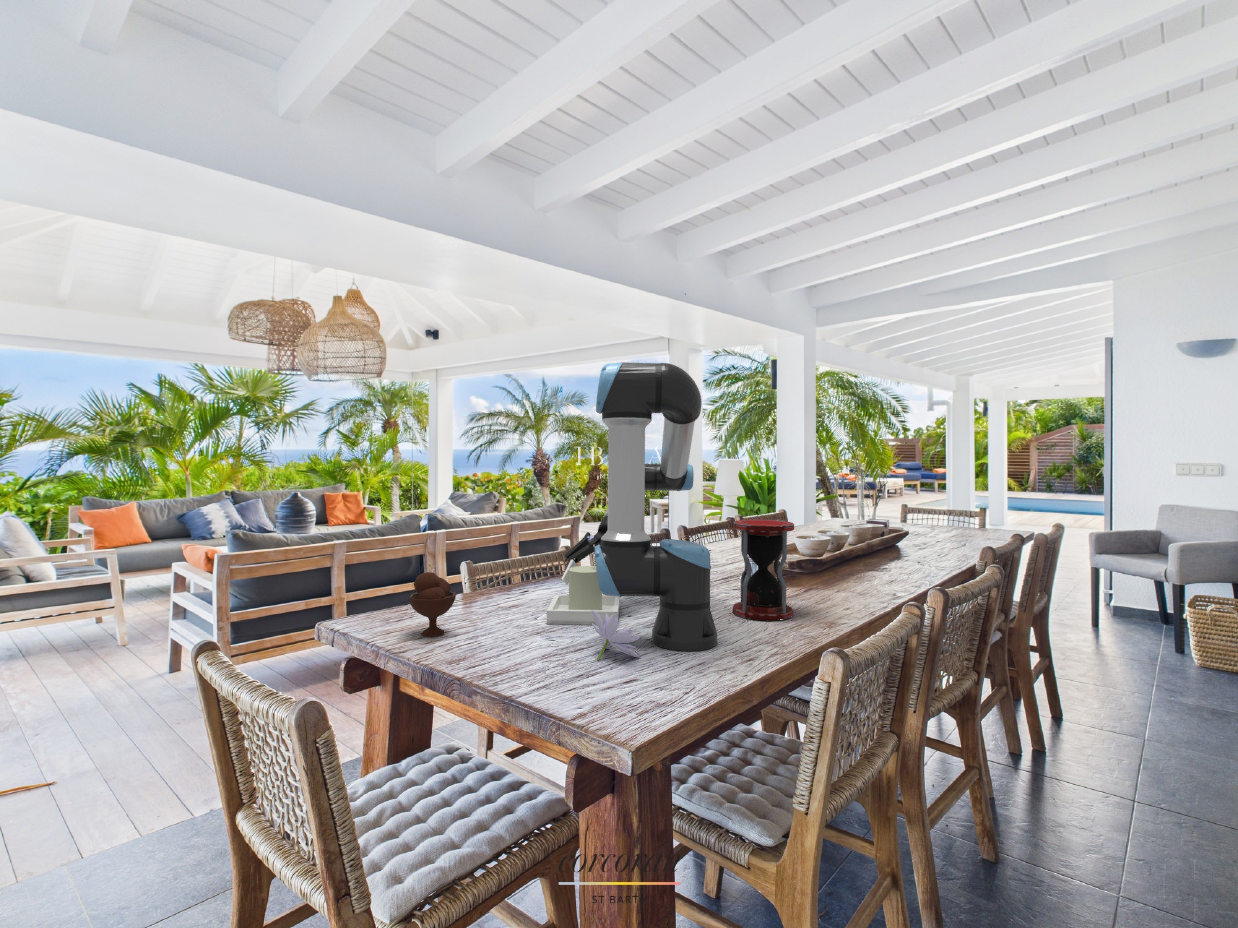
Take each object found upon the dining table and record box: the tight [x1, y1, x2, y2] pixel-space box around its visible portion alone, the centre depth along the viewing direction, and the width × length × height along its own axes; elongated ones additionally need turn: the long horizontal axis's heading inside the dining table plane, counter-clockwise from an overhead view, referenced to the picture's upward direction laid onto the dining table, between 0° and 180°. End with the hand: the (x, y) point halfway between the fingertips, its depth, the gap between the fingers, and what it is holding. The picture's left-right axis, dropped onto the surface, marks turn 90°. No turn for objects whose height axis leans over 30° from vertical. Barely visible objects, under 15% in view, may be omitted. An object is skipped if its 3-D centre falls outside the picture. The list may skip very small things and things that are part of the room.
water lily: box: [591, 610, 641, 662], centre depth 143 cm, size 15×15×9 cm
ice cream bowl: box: [408, 571, 457, 638], centre depth 160 cm, size 11×11×15 cm
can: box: [568, 565, 603, 610], centre depth 178 cm, size 9×9×12 cm
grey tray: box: [546, 594, 621, 626], centre depth 178 cm, size 18×18×4 cm
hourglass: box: [732, 518, 795, 622], centre depth 181 cm, size 16×16×25 cm
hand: (584, 584), depth 178 cm, fingers open, 13 cm apart
